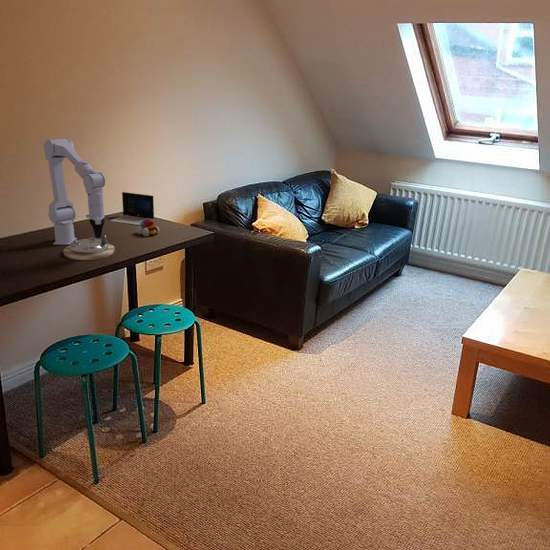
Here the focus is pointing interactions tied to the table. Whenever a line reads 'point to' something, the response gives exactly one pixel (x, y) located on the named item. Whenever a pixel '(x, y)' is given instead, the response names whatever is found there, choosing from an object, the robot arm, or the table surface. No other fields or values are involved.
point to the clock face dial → (89, 245)
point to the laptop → (136, 208)
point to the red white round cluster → (147, 228)
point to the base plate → (95, 256)
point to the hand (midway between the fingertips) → (98, 237)
